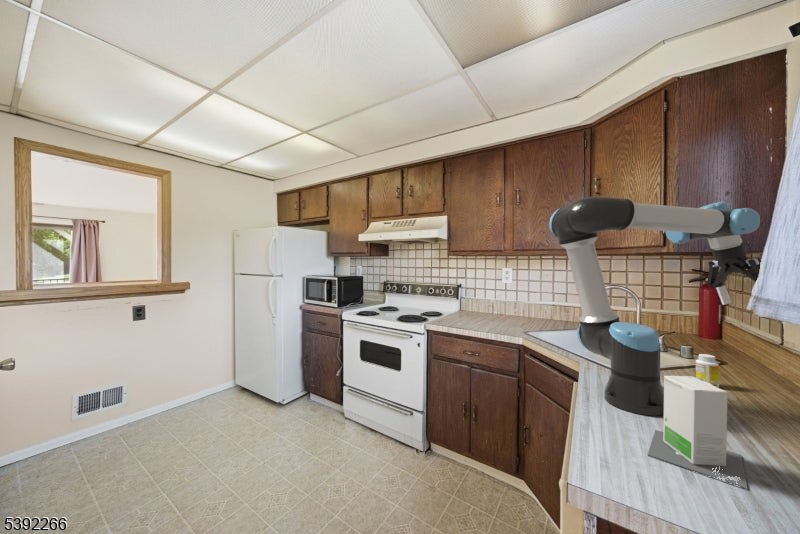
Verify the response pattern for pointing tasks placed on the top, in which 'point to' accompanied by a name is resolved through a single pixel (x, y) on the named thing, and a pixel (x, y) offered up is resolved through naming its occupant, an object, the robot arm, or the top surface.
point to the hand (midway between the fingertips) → (749, 305)
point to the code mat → (671, 456)
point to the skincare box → (695, 420)
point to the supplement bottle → (707, 369)
